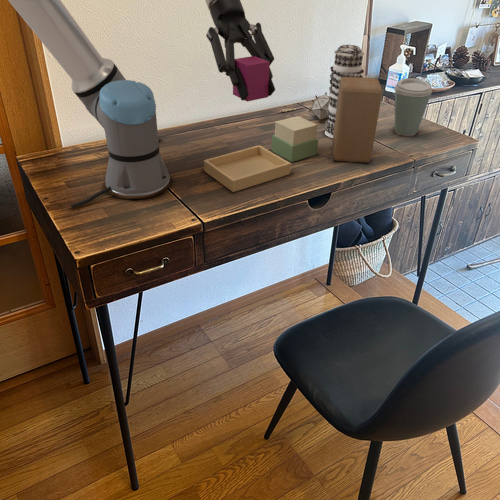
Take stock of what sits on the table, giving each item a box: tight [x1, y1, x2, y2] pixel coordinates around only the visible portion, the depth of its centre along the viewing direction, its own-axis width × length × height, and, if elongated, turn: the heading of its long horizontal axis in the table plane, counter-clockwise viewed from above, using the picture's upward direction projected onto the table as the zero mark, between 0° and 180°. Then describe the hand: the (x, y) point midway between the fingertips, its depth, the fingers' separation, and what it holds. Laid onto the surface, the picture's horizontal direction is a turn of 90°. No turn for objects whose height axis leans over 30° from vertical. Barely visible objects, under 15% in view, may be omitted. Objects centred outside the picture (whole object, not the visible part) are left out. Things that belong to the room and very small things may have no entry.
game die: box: [308, 91, 331, 123], centre depth 154 cm, size 9×8×10 cm
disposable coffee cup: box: [393, 77, 433, 137], centre depth 145 cm, size 11×11×15 cm
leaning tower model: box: [324, 44, 365, 139], centre depth 140 cm, size 9×9×25 cm
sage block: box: [270, 134, 319, 163], centre depth 134 cm, size 9×9×4 cm
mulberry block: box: [232, 55, 271, 102], centre depth 112 cm, size 6×6×8 cm
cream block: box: [274, 115, 318, 145], centre depth 132 cm, size 8×8×4 cm
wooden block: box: [331, 77, 383, 164], centre depth 129 cm, size 10×10×20 cm
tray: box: [203, 144, 292, 193], centre depth 124 cm, size 18×14×3 cm
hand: (258, 95), depth 111 cm, fingers closed on mulberry block, 6 cm apart
